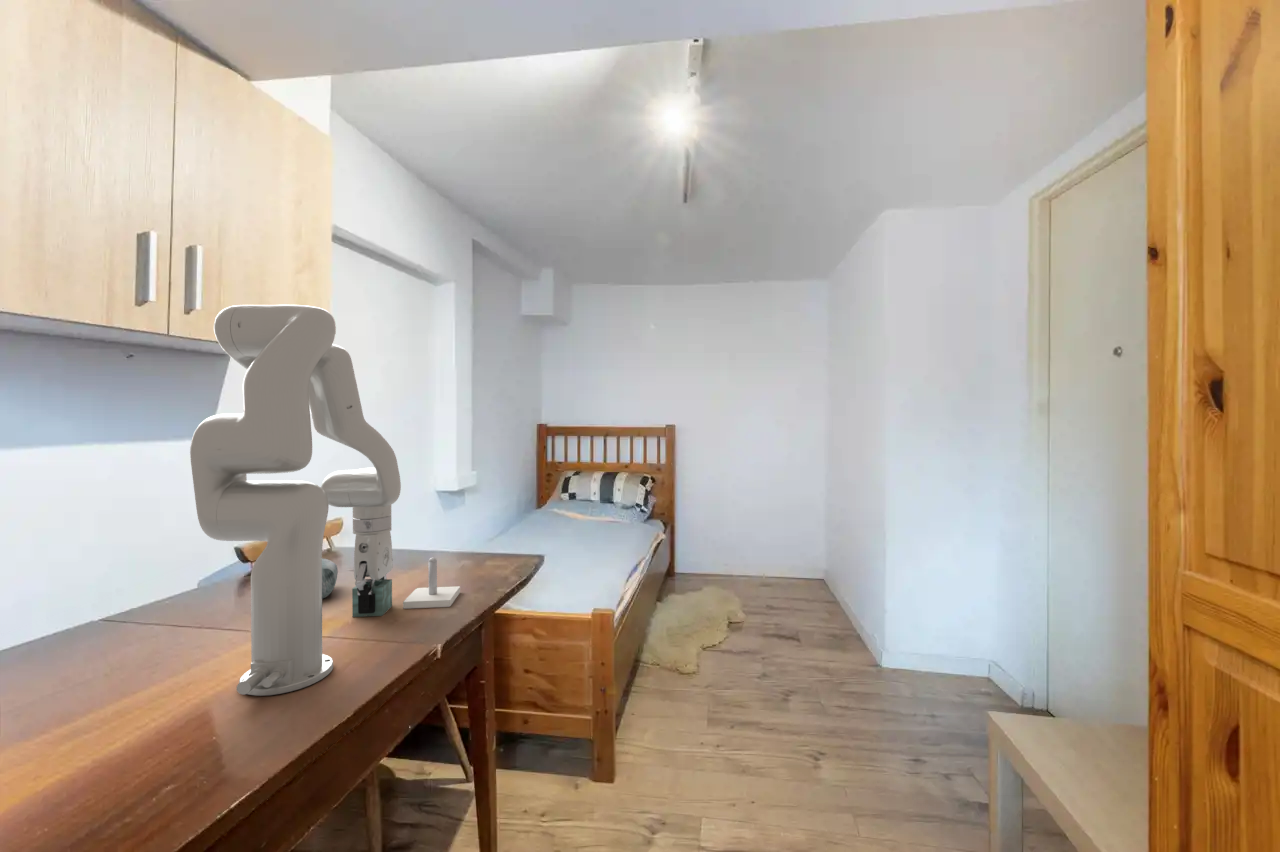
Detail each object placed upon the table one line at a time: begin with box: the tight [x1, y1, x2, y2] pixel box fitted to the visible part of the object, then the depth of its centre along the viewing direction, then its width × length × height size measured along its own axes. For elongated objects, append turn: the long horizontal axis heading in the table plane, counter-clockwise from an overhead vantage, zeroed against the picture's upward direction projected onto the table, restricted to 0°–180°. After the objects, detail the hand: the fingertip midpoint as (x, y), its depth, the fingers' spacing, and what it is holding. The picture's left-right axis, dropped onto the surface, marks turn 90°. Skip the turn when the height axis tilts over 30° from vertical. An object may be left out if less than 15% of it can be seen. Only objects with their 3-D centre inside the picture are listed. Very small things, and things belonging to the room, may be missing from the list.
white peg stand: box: [402, 556, 461, 610], centre depth 123 cm, size 10×10×10 cm
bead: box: [351, 578, 393, 618], centre depth 116 cm, size 6×6×6 cm
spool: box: [322, 557, 339, 600], centre depth 127 cm, size 14×10×10 cm
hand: (372, 606), depth 116 cm, fingers closed on bead, 5 cm apart
